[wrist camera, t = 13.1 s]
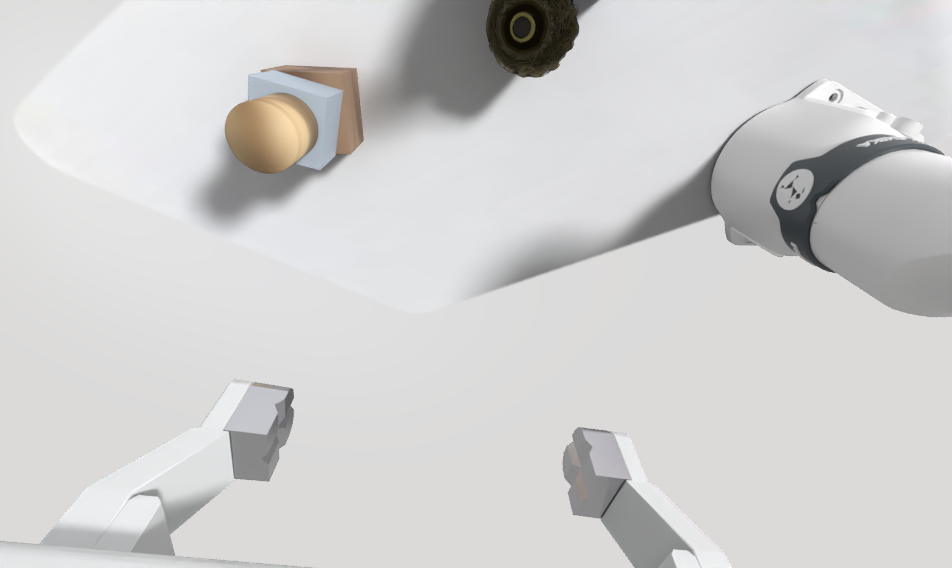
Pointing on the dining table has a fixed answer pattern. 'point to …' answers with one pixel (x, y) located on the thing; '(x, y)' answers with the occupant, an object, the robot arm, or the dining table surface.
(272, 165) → the beech cylinder
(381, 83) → the dining table surface
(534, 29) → the cup
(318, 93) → the tower top block
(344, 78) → the tower base
